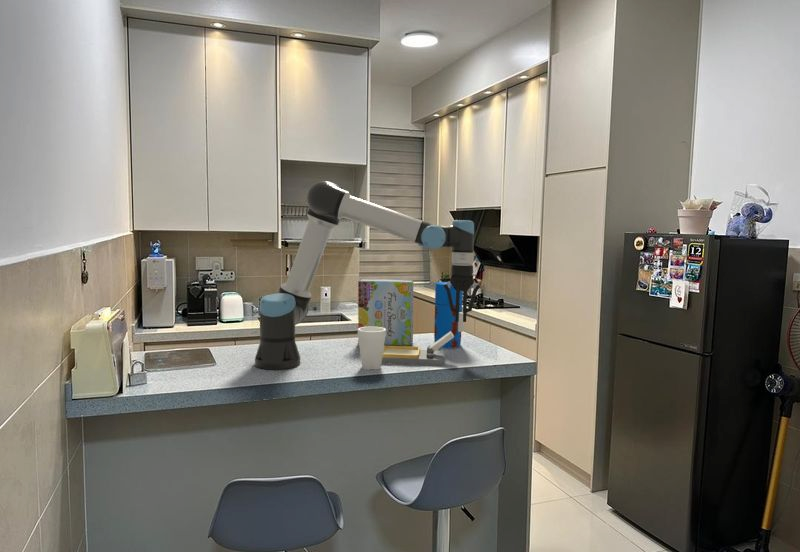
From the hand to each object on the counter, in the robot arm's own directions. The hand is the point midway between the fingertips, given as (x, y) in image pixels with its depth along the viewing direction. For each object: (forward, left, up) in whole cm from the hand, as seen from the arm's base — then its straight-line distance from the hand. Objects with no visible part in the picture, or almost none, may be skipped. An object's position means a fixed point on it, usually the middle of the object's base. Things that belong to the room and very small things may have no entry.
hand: (460, 330), depth 191 cm
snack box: (-29, +25, -11) cm, 40 cm away
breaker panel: (-19, 0, -11) cm, 21 cm away
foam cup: (-30, -12, -11) cm, 34 cm away
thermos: (-4, +25, -11) cm, 28 cm away
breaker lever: (-11, 0, -8) cm, 14 cm away
